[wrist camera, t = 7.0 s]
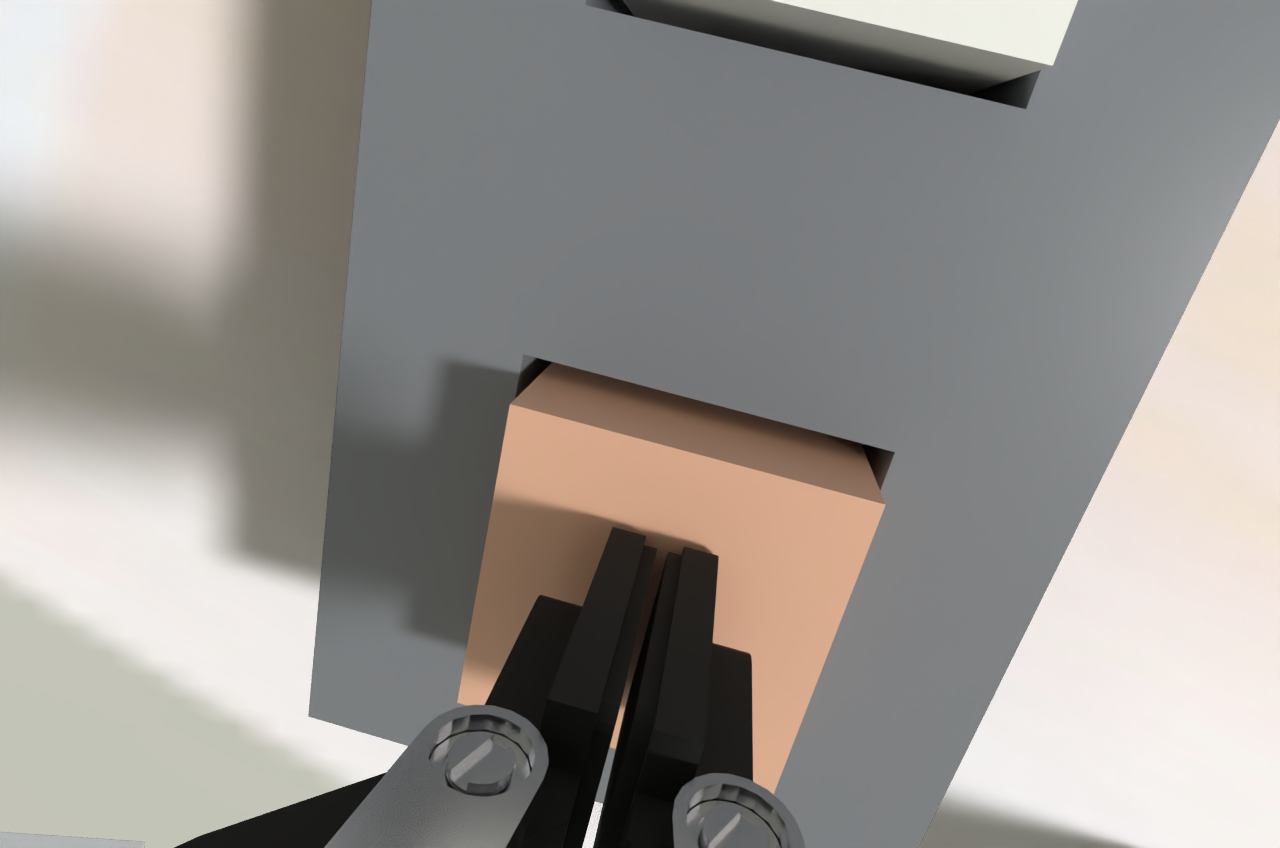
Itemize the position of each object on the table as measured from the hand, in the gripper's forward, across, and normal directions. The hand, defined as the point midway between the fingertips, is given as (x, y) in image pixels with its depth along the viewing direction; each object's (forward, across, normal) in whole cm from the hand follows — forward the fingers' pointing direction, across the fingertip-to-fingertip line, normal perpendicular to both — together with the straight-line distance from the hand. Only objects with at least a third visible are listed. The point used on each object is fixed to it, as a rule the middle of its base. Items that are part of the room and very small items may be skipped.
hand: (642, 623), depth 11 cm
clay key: (+4, 0, 0) cm, 4 cm away
